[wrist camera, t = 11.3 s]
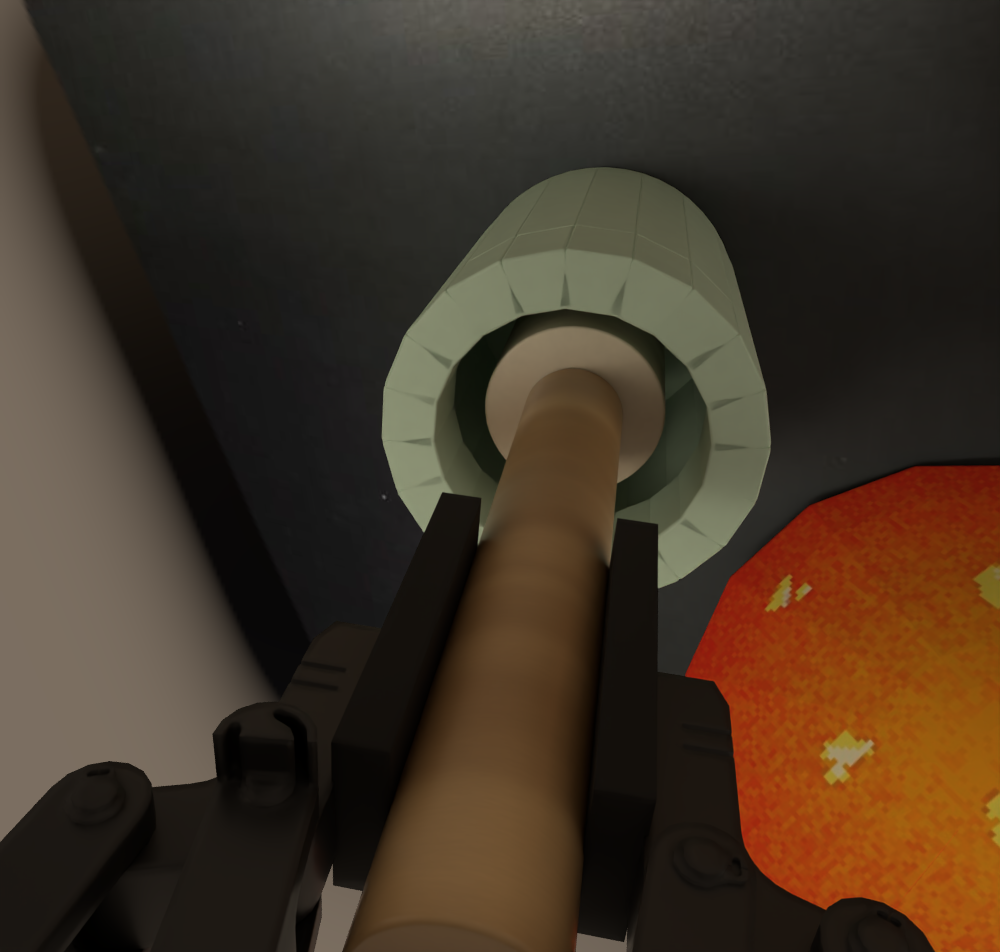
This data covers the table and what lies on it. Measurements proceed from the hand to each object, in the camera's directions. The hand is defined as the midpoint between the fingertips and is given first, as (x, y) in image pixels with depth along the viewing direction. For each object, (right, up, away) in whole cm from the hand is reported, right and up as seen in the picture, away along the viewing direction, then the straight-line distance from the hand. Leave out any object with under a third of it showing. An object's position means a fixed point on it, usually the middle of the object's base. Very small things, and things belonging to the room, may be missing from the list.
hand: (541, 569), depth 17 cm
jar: (+3, +8, +16) cm, 18 cm away
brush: (+2, +6, +11) cm, 13 cm away
